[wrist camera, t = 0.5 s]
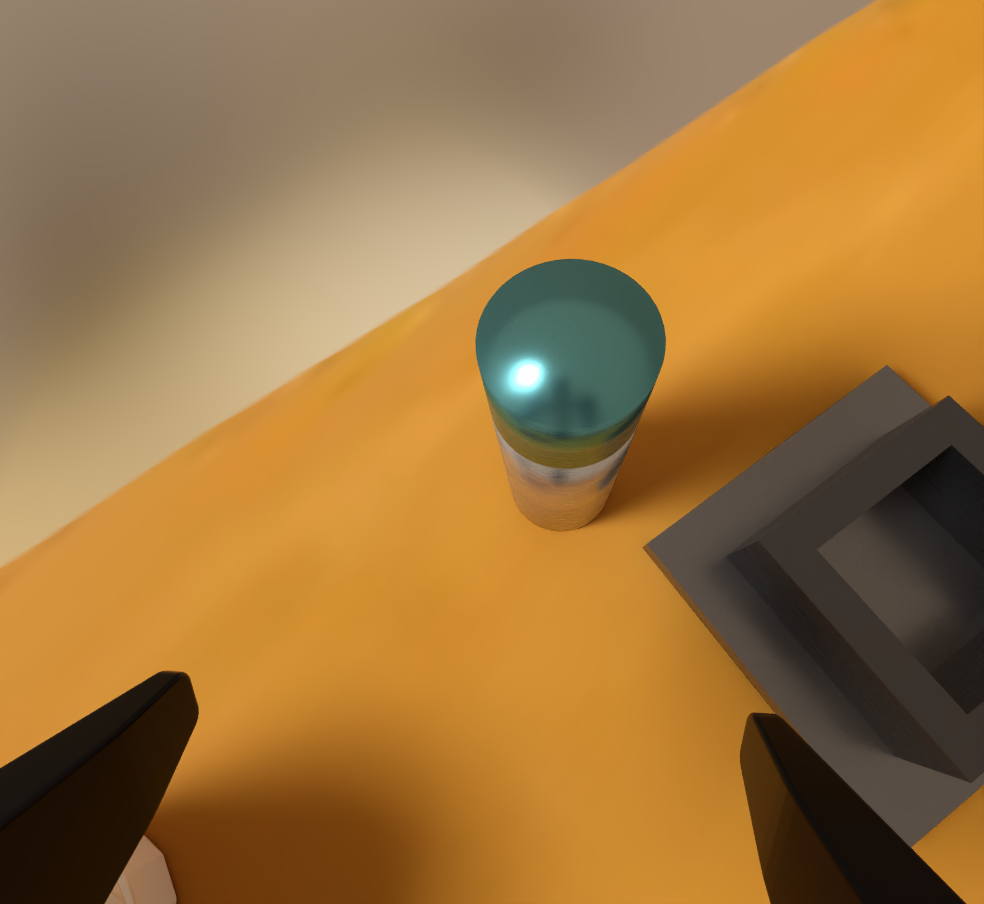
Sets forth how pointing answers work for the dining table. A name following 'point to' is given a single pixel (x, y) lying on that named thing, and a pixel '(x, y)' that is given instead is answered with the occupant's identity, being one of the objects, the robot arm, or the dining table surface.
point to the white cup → (144, 878)
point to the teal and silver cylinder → (567, 382)
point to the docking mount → (857, 593)
